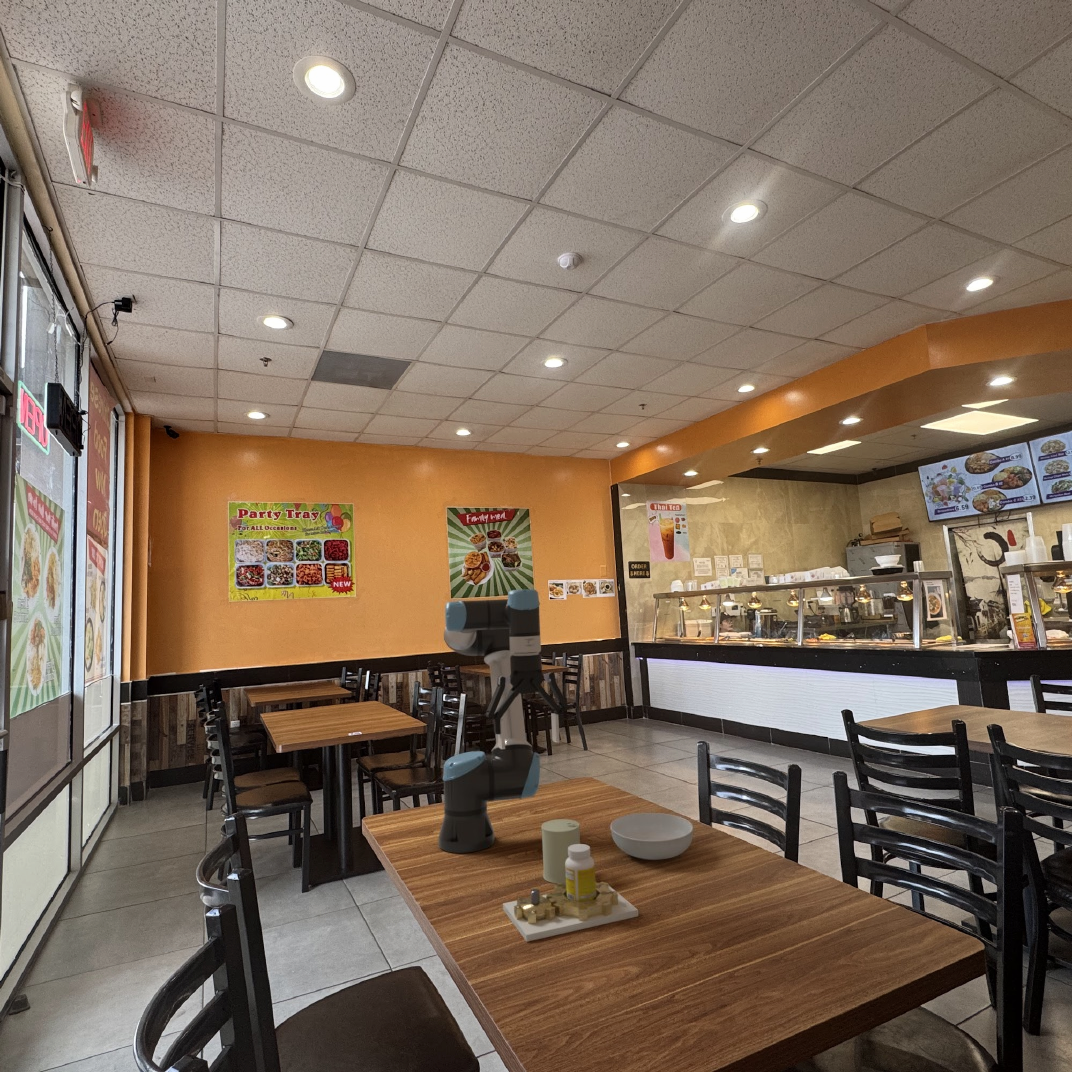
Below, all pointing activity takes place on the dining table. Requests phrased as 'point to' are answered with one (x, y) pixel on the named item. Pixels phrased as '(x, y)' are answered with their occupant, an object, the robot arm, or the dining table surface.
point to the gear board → (568, 920)
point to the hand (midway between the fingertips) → (529, 745)
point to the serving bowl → (652, 835)
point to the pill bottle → (580, 874)
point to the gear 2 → (586, 908)
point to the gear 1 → (535, 908)
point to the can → (558, 847)
